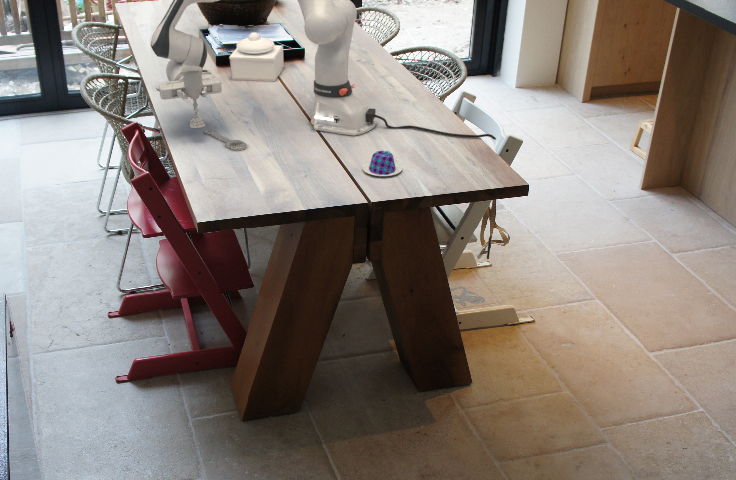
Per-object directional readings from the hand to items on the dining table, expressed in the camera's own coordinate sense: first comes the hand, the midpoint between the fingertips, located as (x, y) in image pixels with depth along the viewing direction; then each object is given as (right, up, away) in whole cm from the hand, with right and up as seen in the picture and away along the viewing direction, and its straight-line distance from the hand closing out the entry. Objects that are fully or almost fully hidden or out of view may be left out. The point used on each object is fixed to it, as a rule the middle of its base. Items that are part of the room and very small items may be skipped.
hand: (195, 95), depth 269 cm
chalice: (0, -8, +7) cm, 10 cm away
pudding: (+58, -27, -13) cm, 65 cm away
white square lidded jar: (+16, +28, +67) cm, 74 cm away
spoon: (+9, -12, +9) cm, 17 cm away
